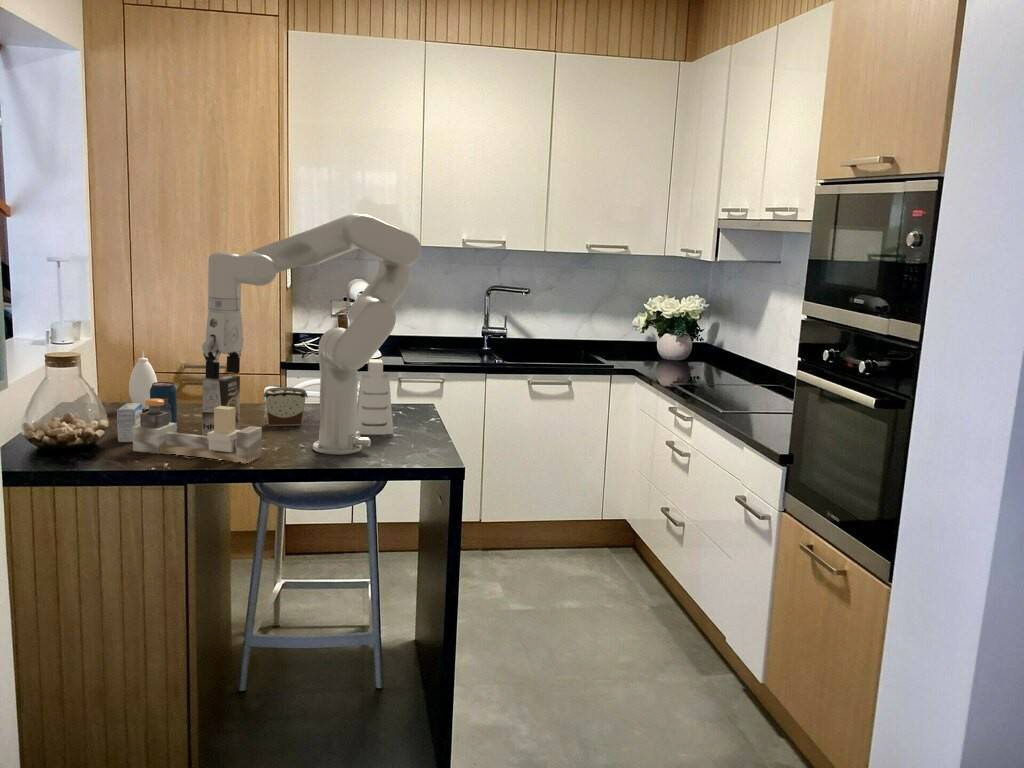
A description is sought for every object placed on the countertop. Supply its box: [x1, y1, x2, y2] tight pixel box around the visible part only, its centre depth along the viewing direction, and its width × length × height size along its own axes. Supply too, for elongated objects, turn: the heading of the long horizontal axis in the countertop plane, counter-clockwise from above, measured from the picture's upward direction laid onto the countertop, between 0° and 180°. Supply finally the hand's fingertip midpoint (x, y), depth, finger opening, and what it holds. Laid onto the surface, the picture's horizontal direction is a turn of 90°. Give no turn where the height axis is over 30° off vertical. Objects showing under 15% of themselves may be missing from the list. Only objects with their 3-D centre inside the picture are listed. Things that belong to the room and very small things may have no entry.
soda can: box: [150, 381, 178, 424], centre depth 249 cm, size 7×7×12 cm
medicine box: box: [116, 402, 143, 443], centre depth 235 cm, size 8×4×9 cm, turn 9°
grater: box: [356, 358, 394, 435], centre depth 259 cm, size 10×10×20 cm
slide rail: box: [132, 410, 263, 464], centre depth 225 cm, size 30×8×9 cm, turn 78°
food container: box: [262, 386, 309, 427], centre depth 262 cm, size 12×6×10 cm, turn 108°
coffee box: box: [201, 373, 241, 436], centre depth 242 cm, size 9×6×16 cm
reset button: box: [145, 399, 164, 415], centre depth 226 cm, size 4×4×4 cm
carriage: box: [207, 406, 241, 452], centre depth 223 cm, size 6×6×10 cm
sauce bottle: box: [128, 349, 158, 410], centre depth 267 cm, size 8×8×18 cm
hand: (222, 375), depth 221 cm, fingers open, 9 cm apart
